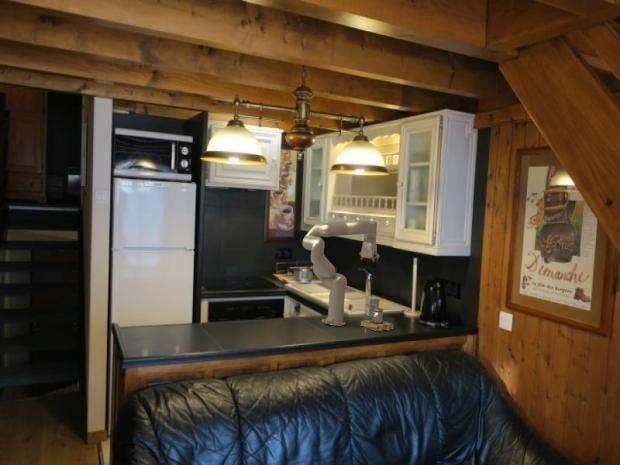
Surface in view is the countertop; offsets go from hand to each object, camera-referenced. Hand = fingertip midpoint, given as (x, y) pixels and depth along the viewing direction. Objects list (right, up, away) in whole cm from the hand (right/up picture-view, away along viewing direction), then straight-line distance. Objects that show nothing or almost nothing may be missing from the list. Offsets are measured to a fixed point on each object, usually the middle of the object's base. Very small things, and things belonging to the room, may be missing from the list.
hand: (368, 266), depth 315 cm
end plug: (+3, -36, -14) cm, 39 cm away
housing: (+3, -36, -14) cm, 39 cm away
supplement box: (+4, -35, +18) cm, 40 cm away
